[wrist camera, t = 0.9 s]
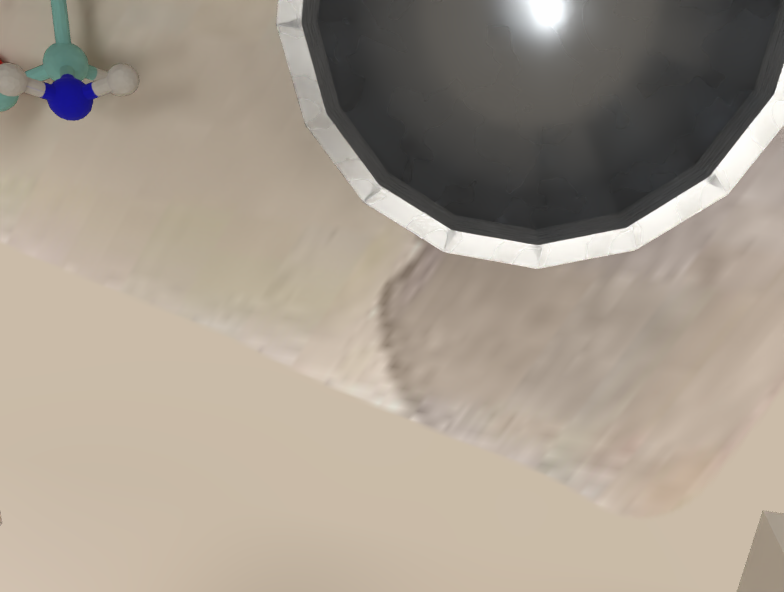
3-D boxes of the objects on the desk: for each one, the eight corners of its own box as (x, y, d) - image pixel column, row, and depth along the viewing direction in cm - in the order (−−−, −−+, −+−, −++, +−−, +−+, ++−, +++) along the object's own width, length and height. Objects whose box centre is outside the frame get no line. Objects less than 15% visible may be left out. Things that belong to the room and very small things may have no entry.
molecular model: (-92, -166, 29) (-162, -63, 23) (156, -87, 33) (156, 20, 27) (-82, 83, 37) (-134, 215, 30) (120, 123, 41) (113, 247, 34)
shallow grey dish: (217, -37, 32) (178, -45, 29) (620, -421, 26) (637, -495, 22) (477, 314, 36) (473, 348, 33) (889, 59, 30) (941, 65, 26)
